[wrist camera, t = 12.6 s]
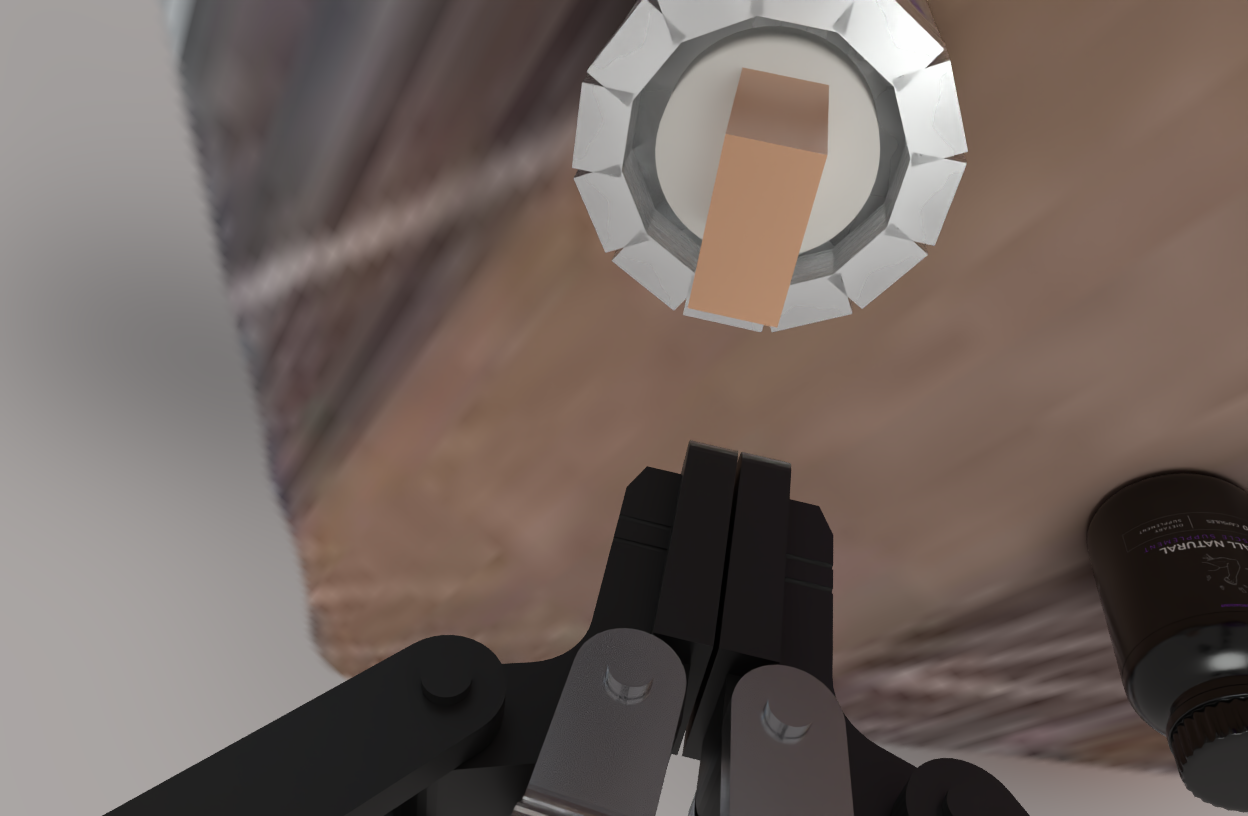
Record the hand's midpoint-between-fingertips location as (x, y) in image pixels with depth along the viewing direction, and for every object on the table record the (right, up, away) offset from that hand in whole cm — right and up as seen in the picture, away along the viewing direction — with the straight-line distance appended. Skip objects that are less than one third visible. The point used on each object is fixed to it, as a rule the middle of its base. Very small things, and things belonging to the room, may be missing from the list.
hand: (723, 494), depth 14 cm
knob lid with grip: (+3, +10, +15) cm, 18 cm away
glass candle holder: (+4, +12, +19) cm, 23 cm away
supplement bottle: (+22, -4, +27) cm, 35 cm away
